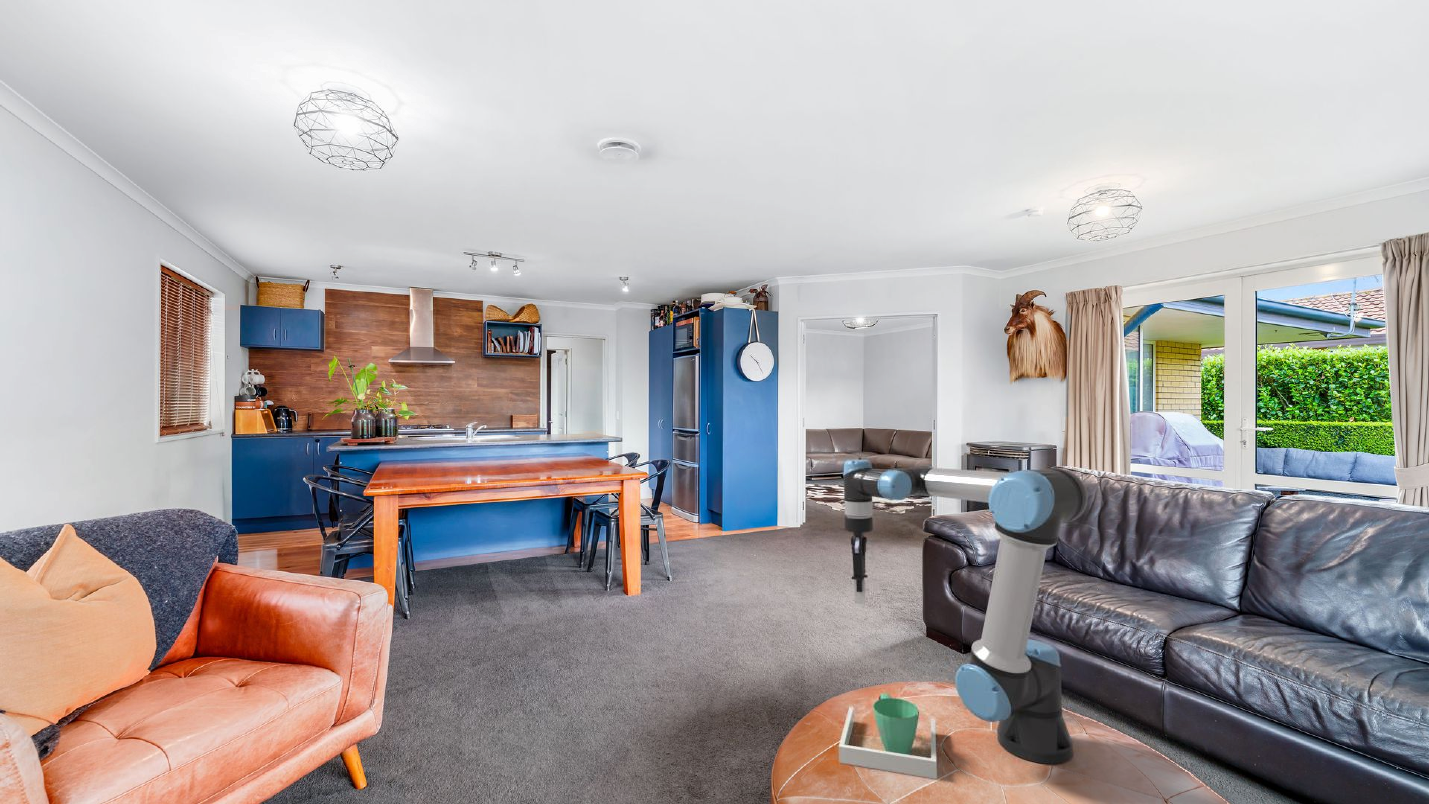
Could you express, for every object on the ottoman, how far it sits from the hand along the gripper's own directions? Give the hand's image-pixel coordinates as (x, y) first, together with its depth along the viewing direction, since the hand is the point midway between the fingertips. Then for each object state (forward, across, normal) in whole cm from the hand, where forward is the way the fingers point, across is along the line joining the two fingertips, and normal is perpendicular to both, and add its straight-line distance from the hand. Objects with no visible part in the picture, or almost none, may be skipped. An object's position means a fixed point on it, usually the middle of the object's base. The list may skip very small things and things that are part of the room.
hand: (860, 602), depth 162 cm
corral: (+25, +25, +9) cm, 36 cm away
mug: (+25, +25, +10) cm, 36 cm away
